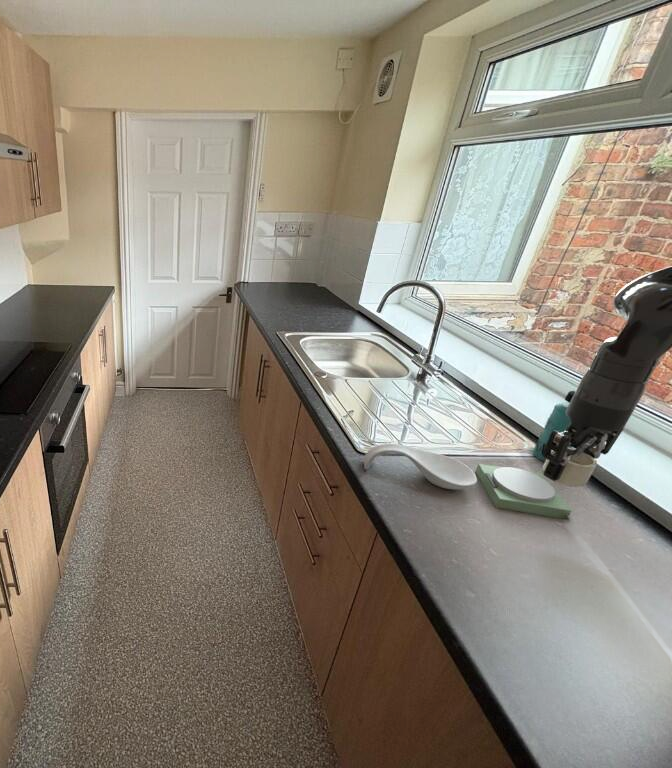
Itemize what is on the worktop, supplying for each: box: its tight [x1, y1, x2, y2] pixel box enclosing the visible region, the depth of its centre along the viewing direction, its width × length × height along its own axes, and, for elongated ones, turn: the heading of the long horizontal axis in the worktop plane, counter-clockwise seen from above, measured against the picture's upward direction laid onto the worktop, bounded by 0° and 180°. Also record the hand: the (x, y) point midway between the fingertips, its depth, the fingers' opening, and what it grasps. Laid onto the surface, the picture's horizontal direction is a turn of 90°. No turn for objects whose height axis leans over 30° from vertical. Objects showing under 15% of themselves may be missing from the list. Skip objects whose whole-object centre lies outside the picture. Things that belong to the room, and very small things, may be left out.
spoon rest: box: [363, 443, 478, 490], centre depth 101 cm, size 24×12×7 cm, turn 70°
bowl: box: [542, 447, 598, 488], centre depth 78 cm, size 6×6×5 cm
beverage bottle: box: [532, 390, 576, 462], centre depth 102 cm, size 6×7×20 cm
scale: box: [474, 463, 572, 520], centre depth 95 cm, size 13×13×4 cm
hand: (564, 474), depth 79 cm, fingers closed on bowl, 6 cm apart
